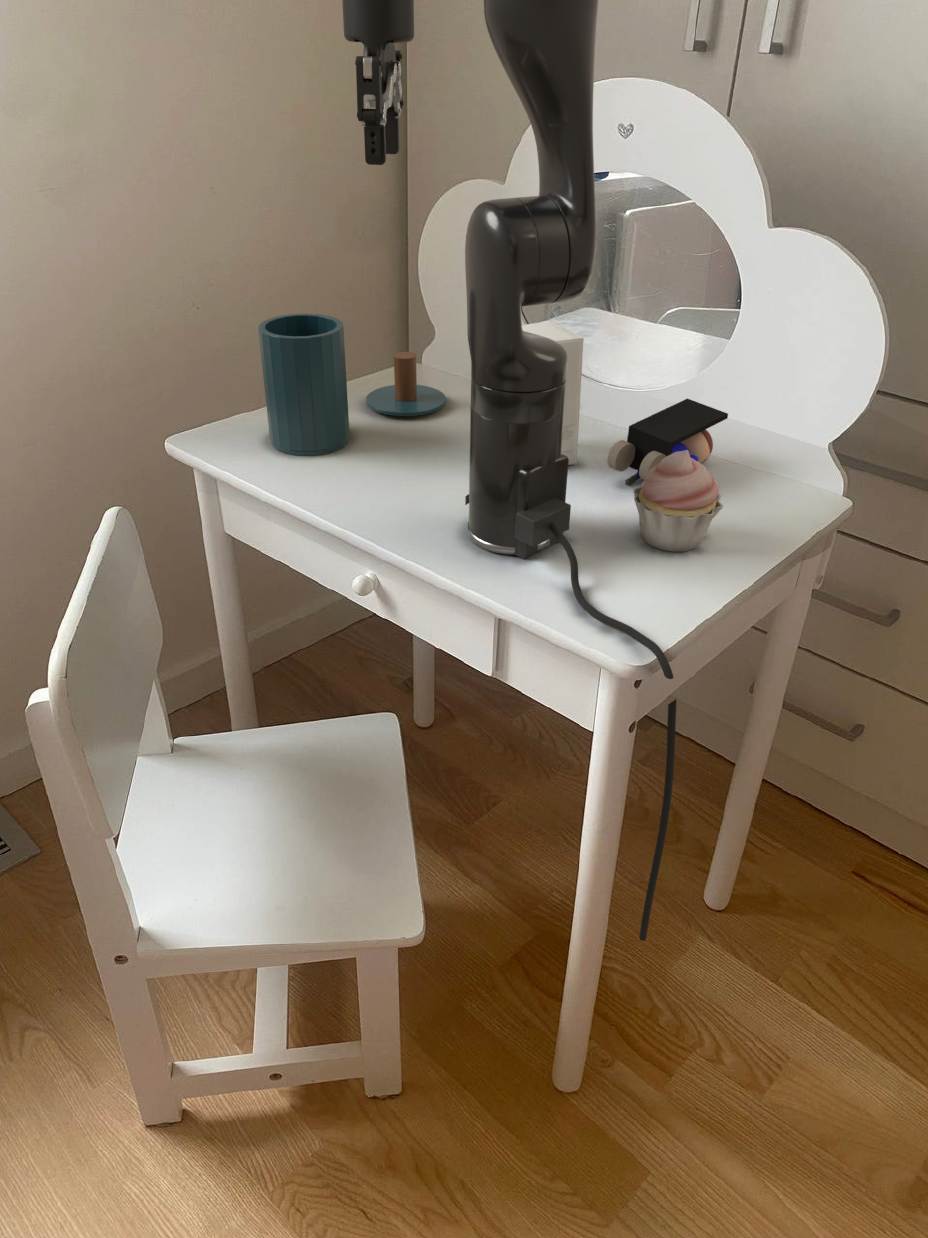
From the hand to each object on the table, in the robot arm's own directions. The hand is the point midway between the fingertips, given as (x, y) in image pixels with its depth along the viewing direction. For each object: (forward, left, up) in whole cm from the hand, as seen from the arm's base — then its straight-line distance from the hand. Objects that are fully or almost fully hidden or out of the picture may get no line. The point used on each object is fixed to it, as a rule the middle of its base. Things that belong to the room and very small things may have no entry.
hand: (383, 158), depth 109 cm
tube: (+3, +11, -32) cm, 34 cm away
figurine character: (-34, -14, -32) cm, 49 cm away
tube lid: (+4, -6, -32) cm, 32 cm away
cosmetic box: (-20, -7, -32) cm, 39 cm away
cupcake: (-44, -2, -32) cm, 55 cm away
